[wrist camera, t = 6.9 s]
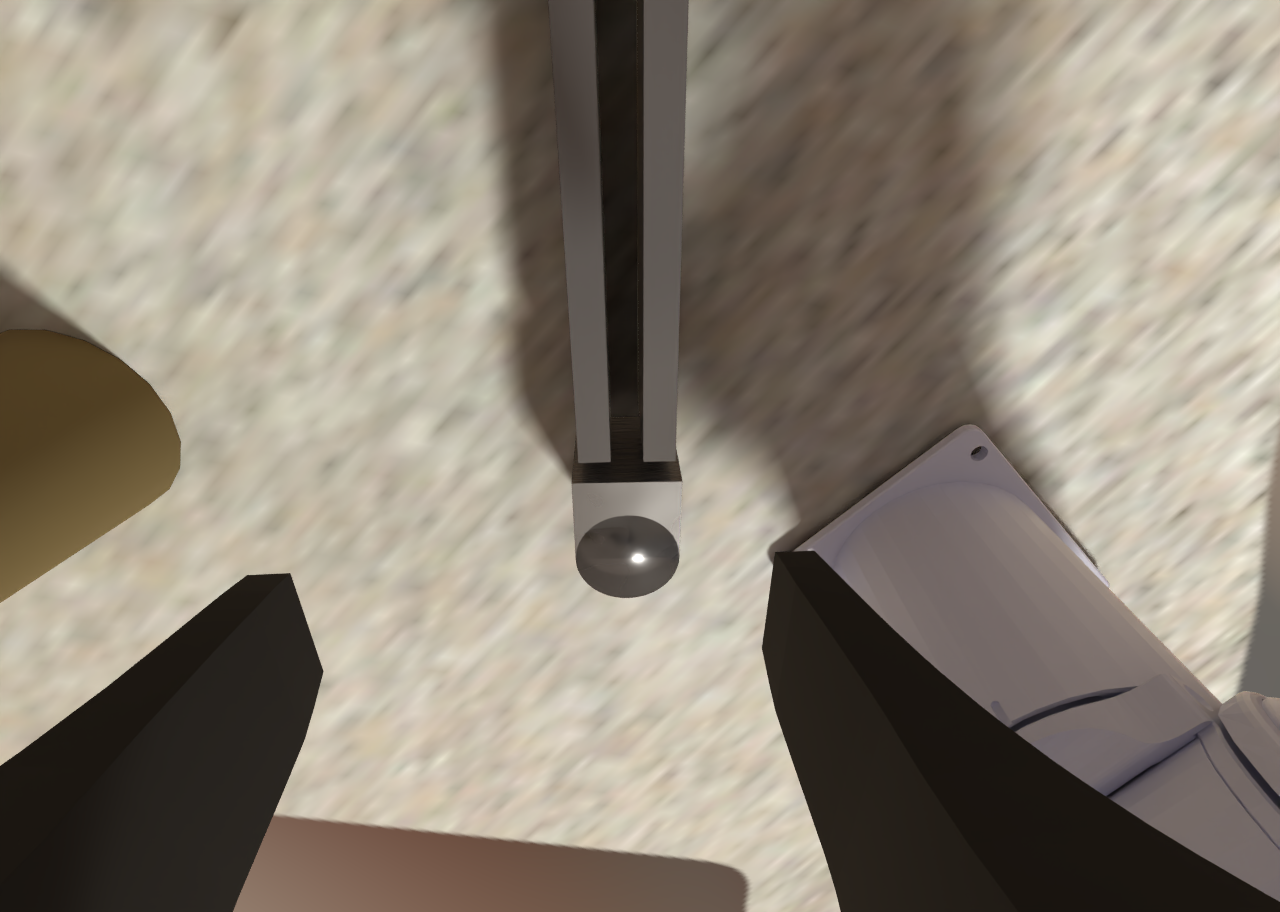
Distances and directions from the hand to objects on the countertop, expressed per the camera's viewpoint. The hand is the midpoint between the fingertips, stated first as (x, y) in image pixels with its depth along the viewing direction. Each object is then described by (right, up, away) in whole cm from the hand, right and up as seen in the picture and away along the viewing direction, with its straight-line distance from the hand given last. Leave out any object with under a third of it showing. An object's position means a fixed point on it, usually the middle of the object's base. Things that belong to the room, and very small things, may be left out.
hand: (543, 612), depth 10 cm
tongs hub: (+1, +2, +11) cm, 11 cm away
